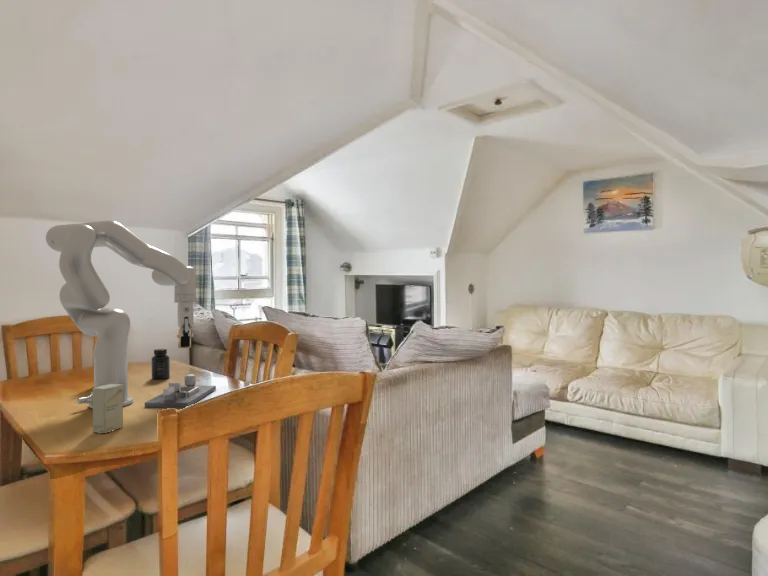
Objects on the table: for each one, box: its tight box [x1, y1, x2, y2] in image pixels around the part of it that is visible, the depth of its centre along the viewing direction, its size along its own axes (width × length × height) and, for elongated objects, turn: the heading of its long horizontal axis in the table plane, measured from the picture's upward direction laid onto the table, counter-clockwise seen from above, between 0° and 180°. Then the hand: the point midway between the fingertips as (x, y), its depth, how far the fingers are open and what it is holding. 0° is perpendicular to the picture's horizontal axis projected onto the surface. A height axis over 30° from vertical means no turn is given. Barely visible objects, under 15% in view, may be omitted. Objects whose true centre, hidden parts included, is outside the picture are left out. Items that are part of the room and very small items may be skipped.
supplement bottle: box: [150, 348, 171, 380], centre depth 195 cm, size 7×7×12 cm
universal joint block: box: [176, 328, 194, 349], centre depth 182 cm, size 6×4×7 cm
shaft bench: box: [144, 373, 217, 409], centre depth 164 cm, size 24×14×6 cm, turn 179°
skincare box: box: [92, 384, 124, 434], centre depth 129 cm, size 6×4×12 cm
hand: (184, 345), depth 182 cm, fingers closed on universal joint block, 4 cm apart
